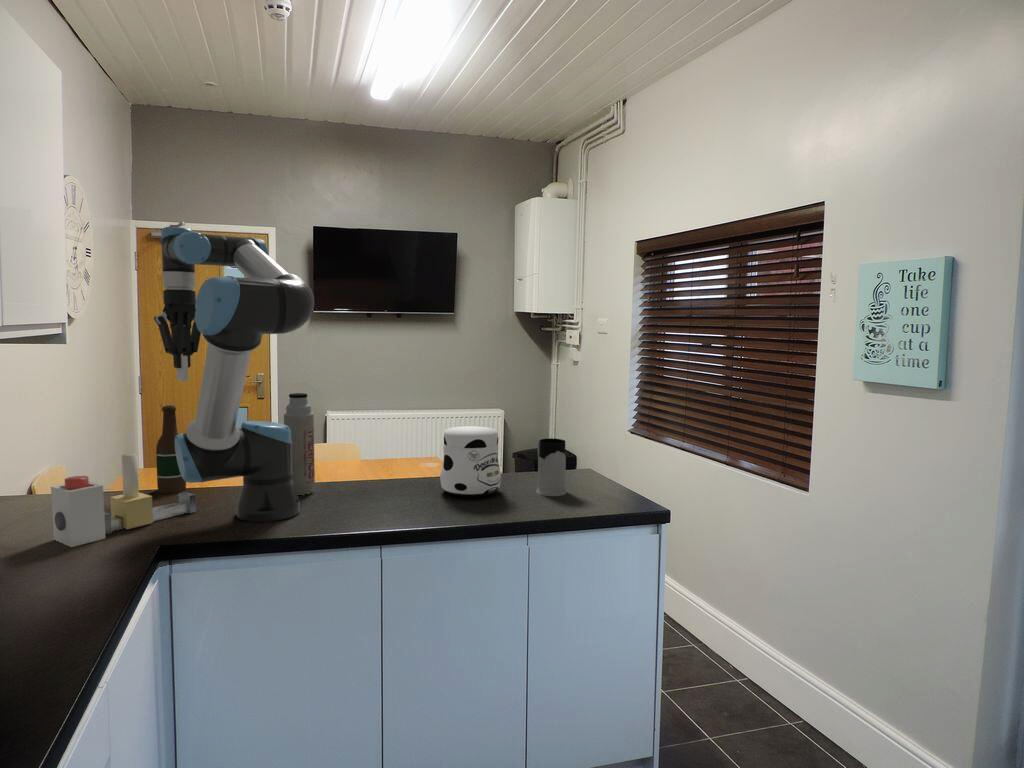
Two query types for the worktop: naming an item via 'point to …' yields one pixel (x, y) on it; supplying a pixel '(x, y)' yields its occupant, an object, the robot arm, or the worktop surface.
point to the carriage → (132, 497)
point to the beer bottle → (168, 456)
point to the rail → (157, 511)
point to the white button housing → (78, 514)
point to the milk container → (470, 461)
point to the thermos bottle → (301, 442)
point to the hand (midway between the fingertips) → (182, 380)
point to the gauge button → (76, 482)
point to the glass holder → (551, 467)
